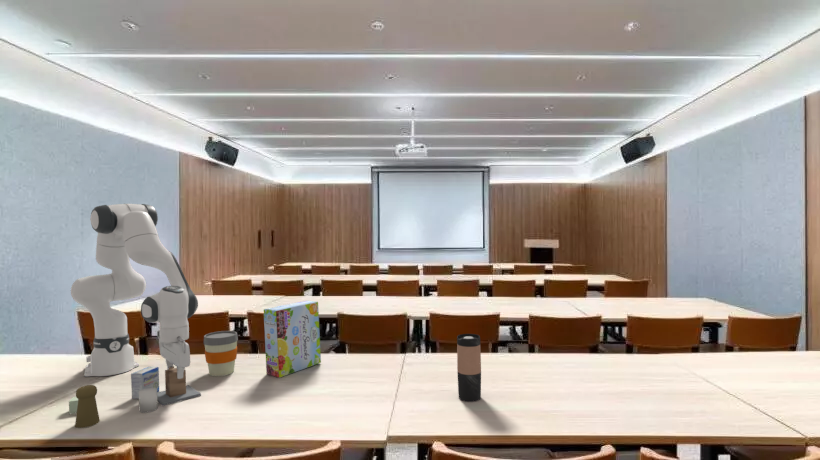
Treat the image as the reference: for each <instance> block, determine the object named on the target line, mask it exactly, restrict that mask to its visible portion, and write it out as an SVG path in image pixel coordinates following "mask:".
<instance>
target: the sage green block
mask: <svg viewBox="0 0 820 460" xmlns="http://www.w3.org/2000/svg"><path fill="white" fill-rule="evenodd" d="M77 406H78V398H77V397H76V396H73V397H71V399H70V400H69V401H68V414H69V415H73V414H77Z"/></svg>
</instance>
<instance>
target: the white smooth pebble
mask: <svg viewBox="0 0 820 460" xmlns="http://www.w3.org/2000/svg"><path fill="white" fill-rule="evenodd" d="M138 406H139V409H138V410H139V412H140V413H142V414H143V413H145V414H146V413H151V412H154V411H156V410H157V409H158V401H157V388H146V389H143V390H140V391H139V399H138Z"/></svg>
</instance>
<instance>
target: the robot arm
mask: <svg viewBox="0 0 820 460" xmlns="http://www.w3.org/2000/svg"><path fill="white" fill-rule="evenodd" d="M158 220H159V216H158V211H157V210H156V208H155V207H154V206H153V205H150V204H145V203H141V204H139V203H120V204H117V203H116V204H108V205H107V204H102V205H98V206H95V207H94V208H93V209H92V210H91V213H90V224H91V227H92V229H93V230H94V231H95V232H96V233H97V236H96V237H97V238H96V248H95V260H96V263H97V264H98V265H100V266H101V267H102V268H106V269H109V270H111V272H110V273H108V274H98V275H97V274H96V275H88V276H84V277H83V276H82V277H80V278H77V279H75V281H73V283H72V285H71V288H70V295H71V298H72V299H73V300H74V301H75V303H78V304H79V305H81V306H83V307H84V308H85V309H86V310H88V312H89V313H90V315H91V317H92V319H93V326H94V338H93V341H92V342H93V343H92V344H93V350H92V351H91V354H90V355H88V356H86V363H87V365H85V368H84V374H83V377H107V376H115V375H118V374H123V373H126V372H129V371H131V370H132V369H134V368H136V367H139V366H140V363H139V362H136V361H135V352H134V346H133V345H131V344H130V334H129V333H128V317H127V314H126V313H124V312H123V311H121V310H119V309H116V308H112V306H111V304H110V303H111V302H119V301H126V300H130V299H135V298H138V297H140V296H142V295H143V294H144V293H145V291H146V289H147V282H146V279H145V277H144V276H143V275H142V274H141V273H139V272H137V271H136V270H135V269H134V268H133V266H132V264H131V261H130V260H132V261H133V262H134V263H137V264H139V265H142V266H146V267H150V268H154V269H157V270H159V271H161V272H163V273H164V275H166V278H167V279H168V282H169V284H170V285H167V286H164V287H162V288H160V290H159V292H157V293H156V294H152V295H149V296H147V297H145V299H144V300H142V303H141V306H140V313H141V317H142V318H143V320H145V321H146V322H147V323H150V324H151V323H153V324H154V323H159V329H158V330H157V331H156V337H158V347H159V354H160V356H161V357H162V358H164V359H165V364H166V370H168V369H173V368H175V367H176V368H177V373H176V377H177V378H178V379H181V378H183V373H184V369H185V370H186V368H187V367H190V365H191V352H190V351H191V350H190V345H189V343H188V342H186V340H188V339H190V332H189V331H190V327H189V325H190V324H189V320H188V319H190V318H191V317H192V316H194V314H195V313H196V311H197V309H198V308H199V301H198V298H197V296H196V295H195V292H193V290H192V289H191V287H190V285H189V283H188V281H187V279H186V276H185V275H184V273H183V270H182V268H181V266H180V264H179V262H178V260H177V258H176V257H175V255H174V253H173V252H171V251H170V250H168V249H167V248H166V247H165V246H164V244H163V243H162V242H161V239H160V237H159V233H158V230H157V228H156V227H157V224H158Z"/></svg>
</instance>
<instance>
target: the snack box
mask: <svg viewBox="0 0 820 460" xmlns="http://www.w3.org/2000/svg"><path fill="white" fill-rule="evenodd" d="M319 316H320V315H319V302H318V301H311V300H302V301H297V302H292V303H287V304H281V305H278V306H273V307H269V308H268V307H267V308H264V309H263V324H264V347H265V369H266V371H265V372H266V375H268V376H271V377H276V378H279V379H280V378H283V377H284V376H288V375H291V374H293V373H296V372H299V371H302V370H304V369H307V368H311V367H312V366H316V365H318V364H321V363H322V358H321V356H322V355H321V337H320V335H321V334H320V317H319Z"/></svg>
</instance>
